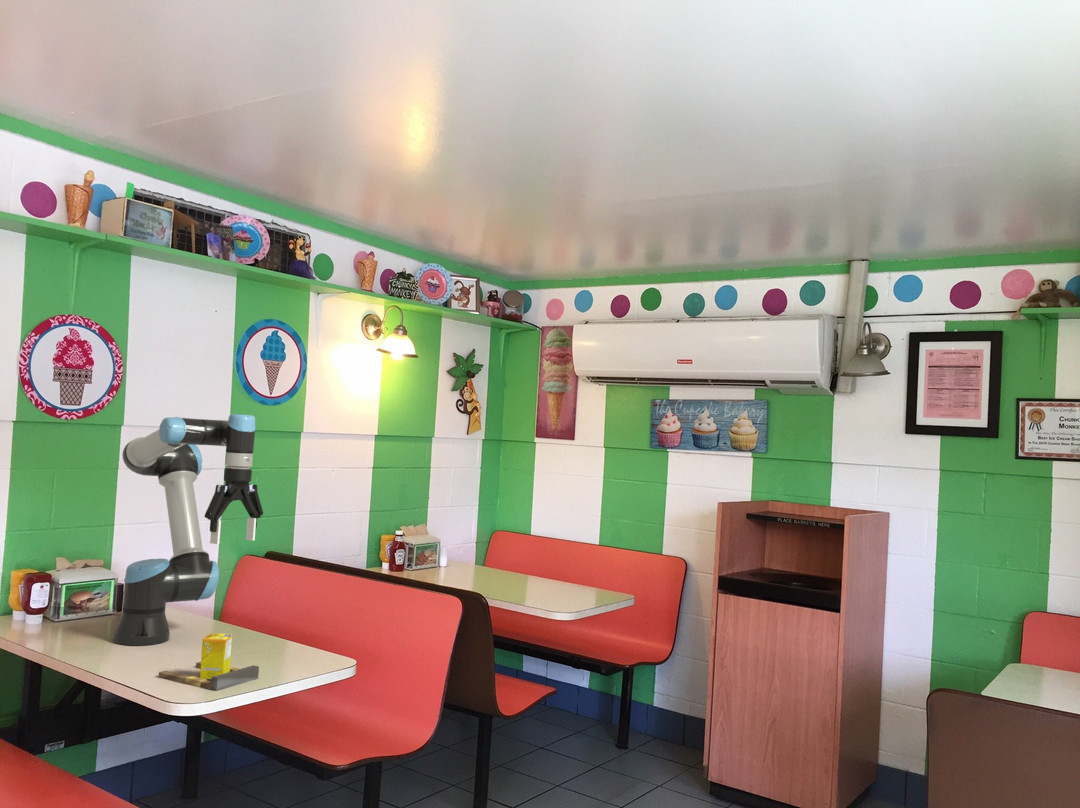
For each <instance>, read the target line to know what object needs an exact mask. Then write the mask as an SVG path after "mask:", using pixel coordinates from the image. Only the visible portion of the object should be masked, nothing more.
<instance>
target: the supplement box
mask: <svg viewBox="0 0 1080 808" xmlns="http://www.w3.org/2000/svg"><path fill="white" fill-rule="evenodd" d="M232 644H233V634H232V633H217V632H216V633H215V632H213V633H209V634H207V635H206V636H204V637H203V638H202V646H201V657H200V658H201V659H200V662H201V668H200V669H199V670H200V671H199V672H200V673H199V678H203V679H207V680H208V681H211V679H212V677H214V676H217V675H221V674H224V673H228V672H230V667H231V661H232V659H231V658H232V648H233V647H232Z"/></svg>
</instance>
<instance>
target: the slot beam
mask: <svg viewBox="0 0 1080 808" xmlns="http://www.w3.org/2000/svg"><path fill="white" fill-rule="evenodd" d="M195 668H196V669H201V661H199V662H198V661H197V662H196V663H195ZM259 670H260V667H259V666H258V665H249V666H246V667H243V668H237V667H235V666H234V667H232V666H230V672H228V673H224V674H221V675H217V676H214V677H212V679H211V681H208V680H207V679H203V678H200V677H198V676H194V675H191V676H190V675H185V674H182V673H176V672H172V671H167V670H163V671H160V672H158V678H160V679H164V680H168V681H173V682H177V683H181V684H187V685H189V686H190V685H191V686H194V687H199V688H203V689H208V690H211V691H216V692H217V691H220V690H224V689H227V688H232V687H234V686H237V685H240V684H243V683H247V682H250V681H254V680H256V679H257V680H258V679H259V672H260V671H259Z"/></svg>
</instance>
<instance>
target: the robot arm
mask: <svg viewBox="0 0 1080 808" xmlns="http://www.w3.org/2000/svg"><path fill="white" fill-rule="evenodd" d="M158 428H159V429H157V430H155V431H153V432H152V433H149V434H148V435H146V436H144V437H143V436H142V437H141V436H140V437H136V438H134V439H131V441H129V442H127V444H126V445H125V446H124V447H123V450H122V454H121V455H122V460H123V463H124V465H125V467H127V469H129V470H130V471H132V472H133V473H135V474H138V475H140V476H150V477H152V476H153V477H157V478H158V484H159V485H160V486H162V487H163V488H164V492H165V500H166V508H167V516H168V523H169V529H170V530H169V531H170V538H171V547H172V552H173V554H172V556H171V558H169V559H167V558H150V559H143V560H137V561H135V562H132V563H130V564H129V565H128V566H127V567H126V569H125V577H124V579H123V581H124V585H123V588H124V589H123V597H122V598H123V599H122V600H123V601H122V611H121V616H120V619H119V621H118V624H117V627H116V630H115V631H114V633H113V642H114V643H115V644H118V645H124V646H150V645H157V644H162V643H164V642H167V641H169V640H170V635H171V634H170V633H171V631H170V628H169V623H168V621H167V616H166V615H167V614H166V605H167V603H176V602H177V603H179V602H190V601H191V602H192V601H195V602H196V601H197V602H198V601H201V600H206V599H207V600H208V599H209V598H211V597H212V596H213V595H214V594H215V592H216V590H217V586H218V585H219V580H220V579H219V577H220V569H219V565H218V564H217V562H216V561H214V560H210V554H209V552H207V551H206V550H204V549H203V543H202V536H201V530H200V529H201V528H200V523H199V515H198V509H197V501H196V494H195V487H194V482H195V481H197V479H198V476H199V475H200V474H201V472H202V468H203V465H202V464H203V456H202V453H201V449H200V448H199V446H217V447H218V446H219V447H225V458H224V459H225V460H224V466H225V469H224V470H223V471H224V473H223V481H224V482H225V484H216V485H215V489H214V494H213V496H212V498H211V500H210V502H209V504H208V507H207V509H206V511H205V513H204V518H206V519H207V520H209V521H210V522H209V523H210V524H209V532H210V540H209V544H212V545H213V544H214V545H219V544H220V539H221V525H222V520H220V518H221V517H222V515H223V514H224V513H225V511H226V509H227V508H228V507H229V505H230V504H231V503H232V502H233V501H240V502H241V503H242V505H243V507H244V509H245V510H246V512H247V514H248V515H249V517H247V520H246V531H245V532H246V533H245V540H246V541H255V540H256V529H257V527H258V519H260V518H261V516H263V515H264V511H263V507H262V504H261V500H260V497H259V496H260V495H259V493H258V485H257V484H253V483H250V482H252V475H253V473H252V472H253V470H252V469H251V468H252V467H253V460H254V459H253V458H254V447H255V446H254V445H255V438H256V437H255V436H256V435H255V434H256V428H257V427H256V417H255V416H254V415H252V414H237V413H235V414H234V413H232V414H229V416H228V419H227V420H225V419H224V420H221V419H202V418H201V419H200V418H190V417H187V418H186V417H179V416H174V417H173V416H172V417H171V416H170V417H164V418H163V419H162V420H161V422H160V424H159V427H158ZM198 445H199V446H198Z"/></svg>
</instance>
